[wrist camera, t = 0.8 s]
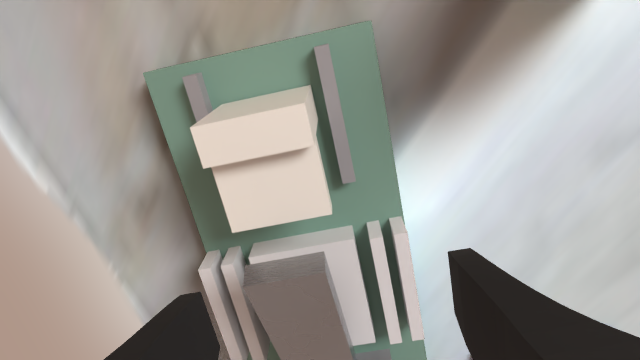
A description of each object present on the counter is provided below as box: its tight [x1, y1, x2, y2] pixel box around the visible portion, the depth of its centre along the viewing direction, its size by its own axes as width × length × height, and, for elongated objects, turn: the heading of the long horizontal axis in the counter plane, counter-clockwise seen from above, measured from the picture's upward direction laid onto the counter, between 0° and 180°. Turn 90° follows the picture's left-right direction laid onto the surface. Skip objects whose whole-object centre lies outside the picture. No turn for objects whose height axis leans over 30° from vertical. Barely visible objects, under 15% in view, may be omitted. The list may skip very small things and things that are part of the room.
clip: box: [190, 85, 332, 233], centre depth 17 cm, size 4×4×4 cm
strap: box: [243, 251, 357, 360], centre depth 19 cm, size 12×4×2 cm, turn 13°
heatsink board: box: [143, 21, 427, 360], centre depth 20 cm, size 20×10×4 cm, turn 12°
